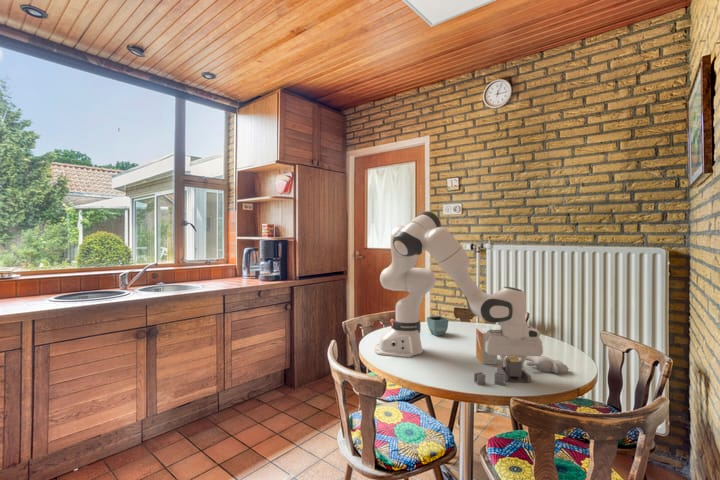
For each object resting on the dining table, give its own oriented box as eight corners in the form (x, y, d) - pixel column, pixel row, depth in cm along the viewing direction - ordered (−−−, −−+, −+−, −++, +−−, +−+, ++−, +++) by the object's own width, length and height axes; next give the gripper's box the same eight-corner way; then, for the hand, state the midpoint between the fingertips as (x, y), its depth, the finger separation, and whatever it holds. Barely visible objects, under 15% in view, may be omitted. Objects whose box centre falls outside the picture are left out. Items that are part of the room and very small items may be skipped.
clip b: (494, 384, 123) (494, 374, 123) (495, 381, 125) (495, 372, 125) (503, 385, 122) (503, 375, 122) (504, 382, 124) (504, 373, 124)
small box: (475, 357, 151) (475, 328, 151) (490, 357, 151) (490, 328, 151) (482, 364, 143) (482, 333, 143) (497, 364, 143) (497, 333, 143)
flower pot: (426, 333, 190) (426, 317, 190) (440, 331, 192) (440, 315, 192) (434, 337, 181) (434, 320, 181) (449, 336, 184) (449, 319, 184)
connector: (510, 376, 127) (510, 360, 126) (505, 371, 132) (505, 355, 131) (521, 376, 126) (521, 360, 126) (516, 371, 131) (516, 355, 131)
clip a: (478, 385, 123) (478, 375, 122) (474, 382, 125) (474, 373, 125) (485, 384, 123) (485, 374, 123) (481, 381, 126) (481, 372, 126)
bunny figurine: (571, 366, 129) (528, 358, 133) (569, 380, 129) (526, 371, 133) (563, 358, 138) (523, 350, 142) (562, 370, 138) (522, 362, 143)
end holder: (505, 382, 125) (505, 375, 125) (497, 372, 134) (497, 366, 134) (530, 382, 124) (530, 376, 124) (521, 373, 133) (521, 366, 133)
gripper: (487, 331, 127) (487, 369, 127) (544, 332, 125) (544, 370, 125) (482, 327, 133) (482, 362, 133) (537, 328, 131) (537, 364, 131)
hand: (513, 366), depth 129 cm, fingers closed on connector, 4 cm apart
